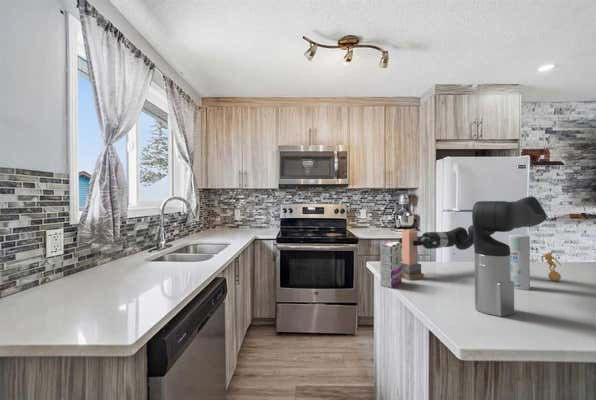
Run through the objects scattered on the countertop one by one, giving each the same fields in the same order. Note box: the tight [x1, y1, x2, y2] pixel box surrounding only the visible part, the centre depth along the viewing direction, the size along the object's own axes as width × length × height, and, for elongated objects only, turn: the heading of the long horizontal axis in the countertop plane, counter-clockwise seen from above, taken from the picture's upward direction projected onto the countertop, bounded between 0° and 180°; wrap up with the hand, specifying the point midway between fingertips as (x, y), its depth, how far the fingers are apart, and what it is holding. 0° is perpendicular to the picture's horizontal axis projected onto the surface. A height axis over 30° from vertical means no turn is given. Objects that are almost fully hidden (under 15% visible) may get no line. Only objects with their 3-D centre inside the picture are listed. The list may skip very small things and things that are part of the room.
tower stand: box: [401, 262, 425, 281], centre depth 134 cm, size 8×8×6 cm
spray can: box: [508, 234, 531, 291], centre depth 117 cm, size 6×6×20 cm
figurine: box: [540, 251, 562, 282], centre depth 126 cm, size 8×6×12 cm
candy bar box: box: [379, 241, 403, 289], centre depth 123 cm, size 11×5×16 cm, turn 143°
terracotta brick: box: [401, 229, 419, 265], centre depth 134 cm, size 4×4×15 cm
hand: (406, 242), depth 134 cm, fingers open, 8 cm apart
